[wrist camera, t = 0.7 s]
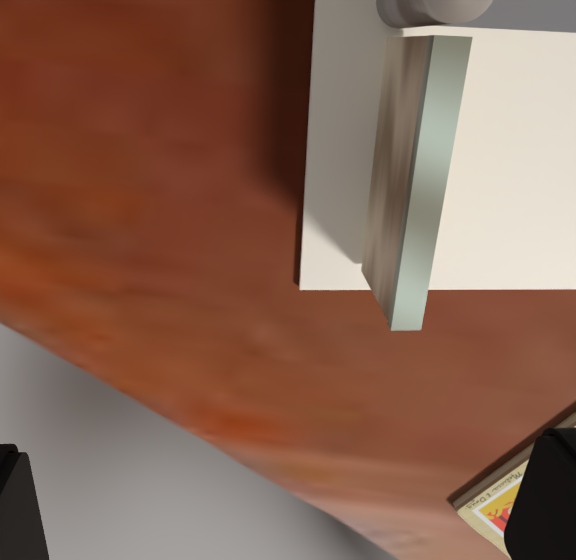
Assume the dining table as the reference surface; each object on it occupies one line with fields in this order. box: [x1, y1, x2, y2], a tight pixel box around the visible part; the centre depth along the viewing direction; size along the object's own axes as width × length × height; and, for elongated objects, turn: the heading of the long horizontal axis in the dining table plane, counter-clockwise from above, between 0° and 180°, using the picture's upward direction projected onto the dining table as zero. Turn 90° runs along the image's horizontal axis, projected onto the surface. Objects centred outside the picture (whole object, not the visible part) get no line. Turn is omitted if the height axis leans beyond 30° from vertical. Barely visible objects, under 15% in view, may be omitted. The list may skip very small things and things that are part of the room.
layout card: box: [299, 0, 576, 290], centre depth 24 cm, size 20×30×1 cm, turn 178°
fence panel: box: [361, 35, 473, 330], centre depth 23 cm, size 12×1×7 cm, turn 178°
